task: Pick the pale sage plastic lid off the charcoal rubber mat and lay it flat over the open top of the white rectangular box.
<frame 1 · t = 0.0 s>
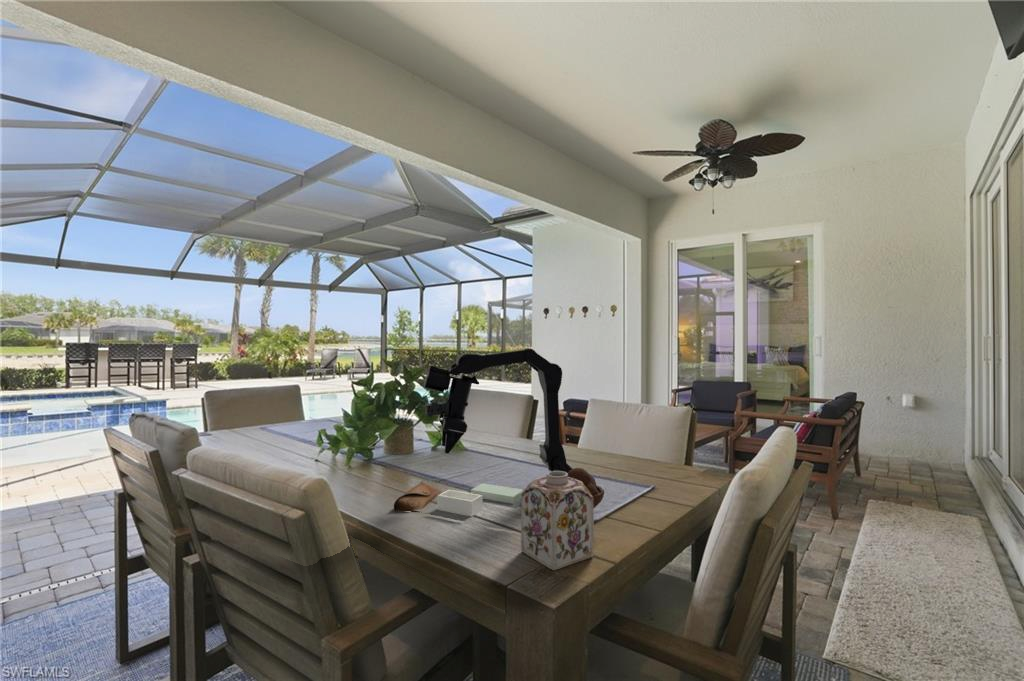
hand: (445, 449, 139), 15 cm above the table, tool pointing down, fingers open, 9 cm apart
white rectangular box: (459, 511, 133), on the table
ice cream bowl: (581, 527, 122), on the table
decorative jar: (556, 555, 107), on the table
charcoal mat: (497, 498, 144), on the table
sage lid: (497, 496, 144), point 1 cm above the table, touching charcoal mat
sunglasses case: (420, 503, 141), on the table
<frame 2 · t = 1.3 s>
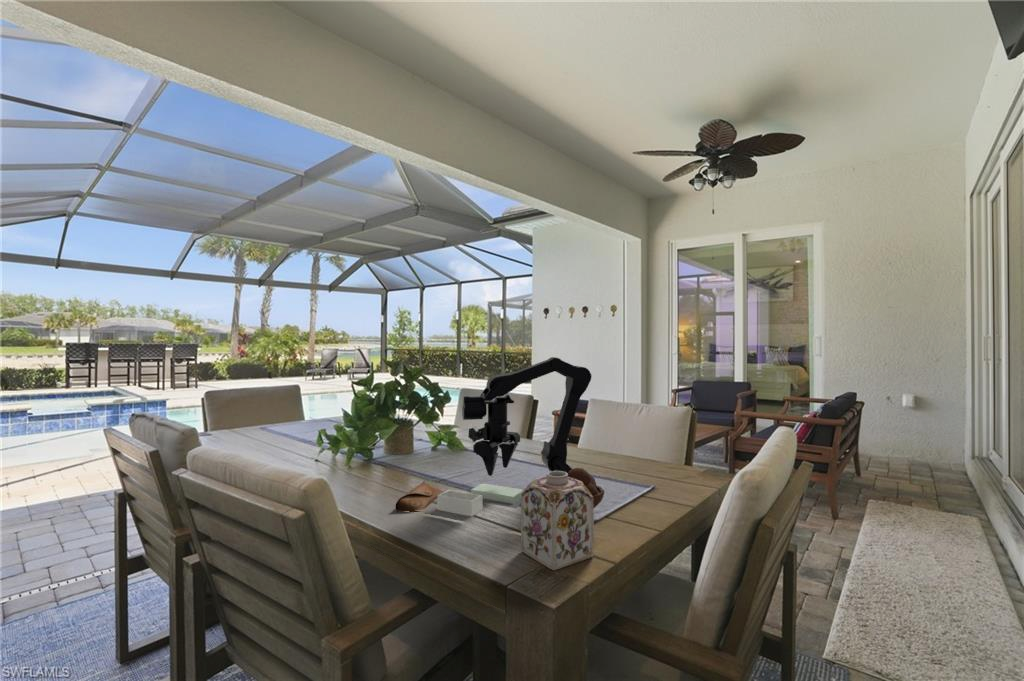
hand: (497, 471, 143), 8 cm above the table, tool pointing down, fingers open, 9 cm apart
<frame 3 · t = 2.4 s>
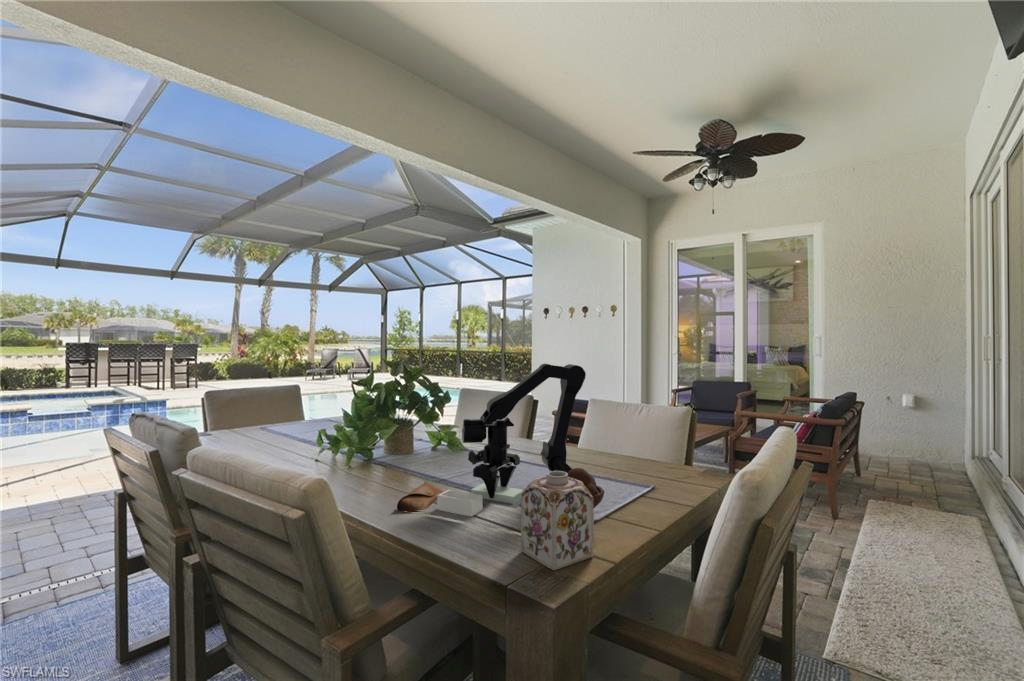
hand: (497, 494, 144), 1 cm above the table, tool pointing down, fingers closed on sage lid, 7 cm apart
sage lid: (497, 496, 144), point 1 cm above the table, touching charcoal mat, gripper
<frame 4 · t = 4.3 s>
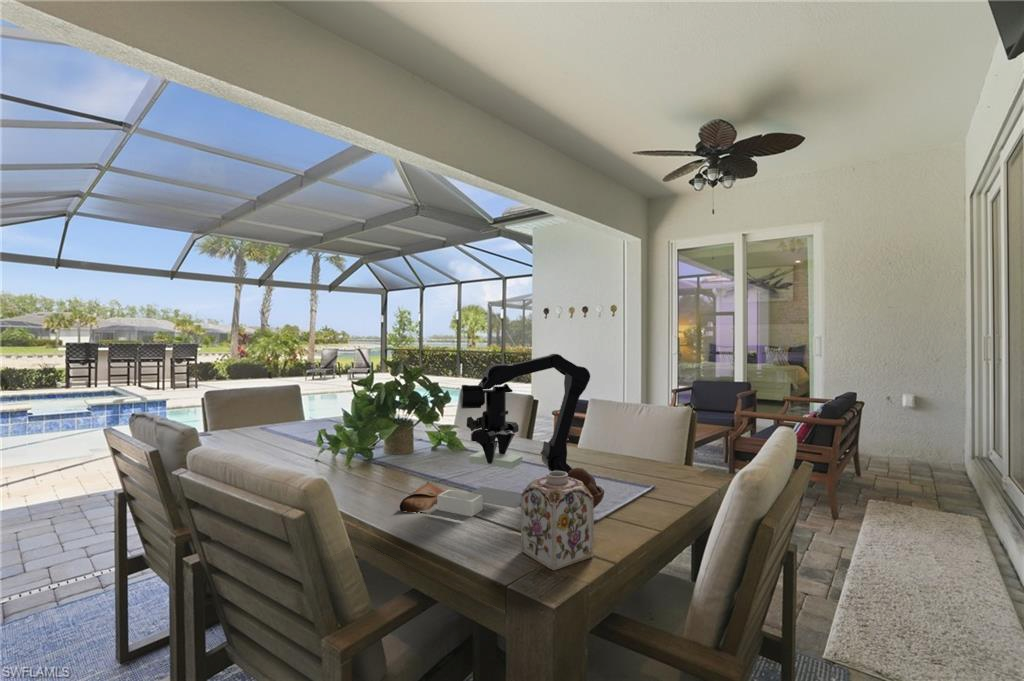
hand: (495, 460, 143), 11 cm above the table, tool pointing down, fingers closed on sage lid, 7 cm apart
sage lid: (495, 462, 143), point 11 cm above the table, touching gripper
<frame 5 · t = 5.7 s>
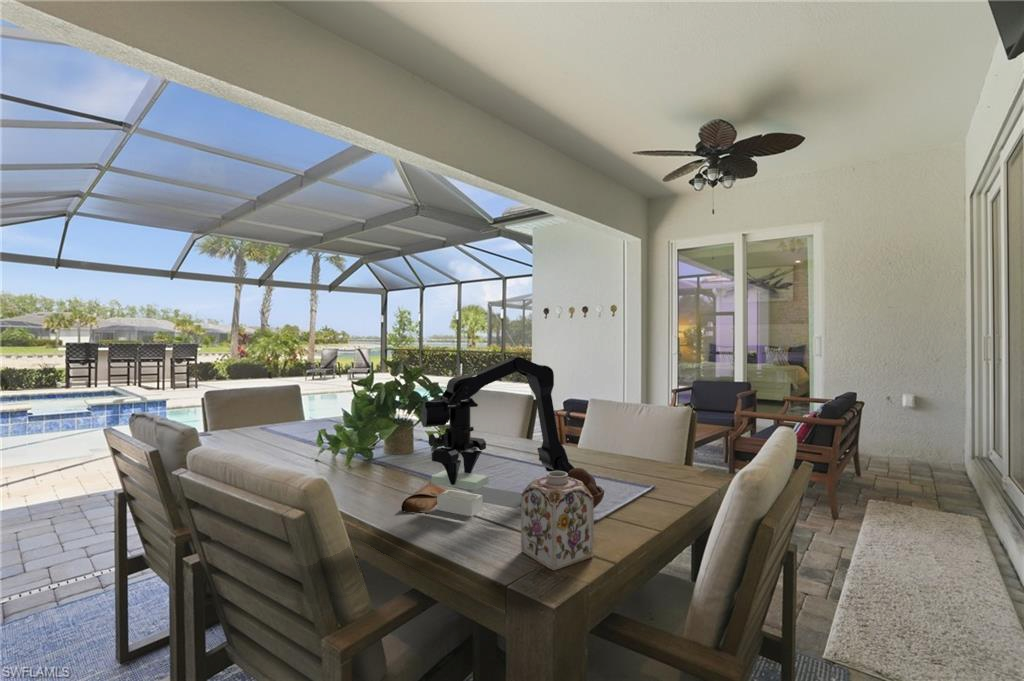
hand: (460, 481, 133), 8 cm above the table, tool pointing down, fingers closed on sage lid, 7 cm apart
sage lid: (460, 483, 133), point 8 cm above the table, touching gripper
when the fingers open (6 cm above the table, at t = 6.6 s): sage lid stays where it is, resting on white rectangular box.
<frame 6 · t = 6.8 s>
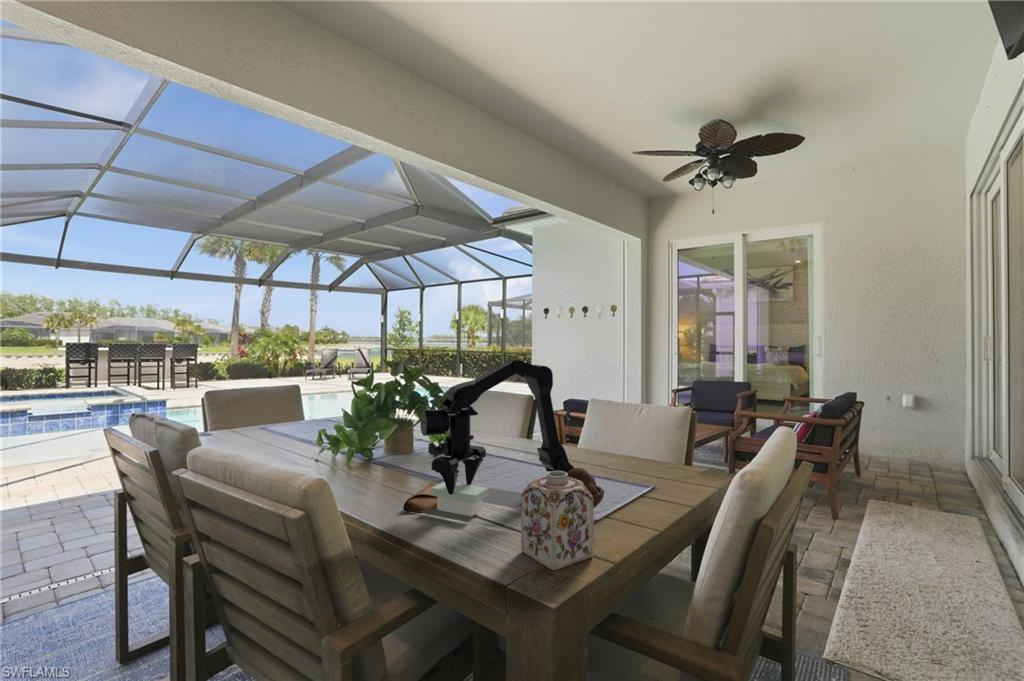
hand: (460, 489, 133), 6 cm above the table, tool pointing down, fingers open, 9 cm apart
sage lid: (459, 495, 133), point 4 cm above the table, touching white rectangular box
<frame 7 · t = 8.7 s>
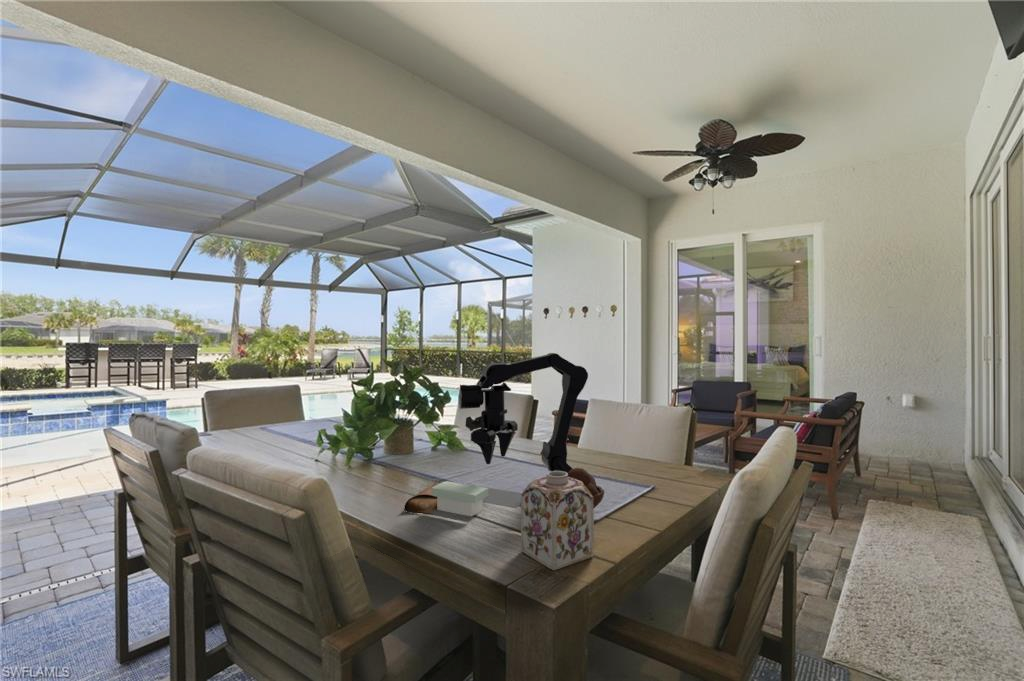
hand: (495, 460, 142), 12 cm above the table, tool pointing down, fingers open, 9 cm apart
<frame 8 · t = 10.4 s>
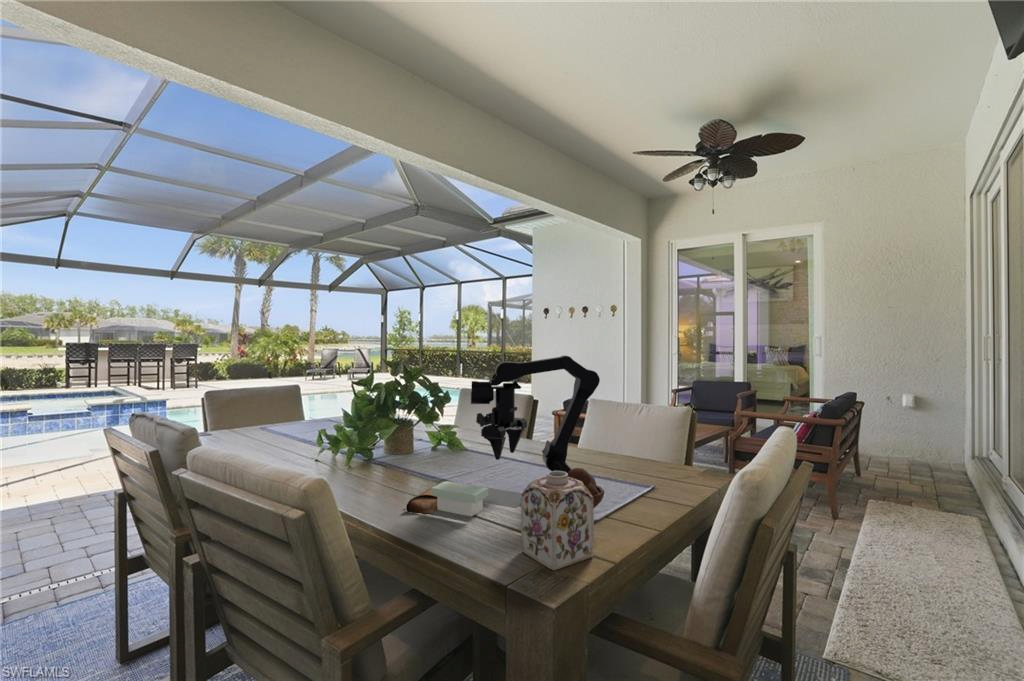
hand: (505, 456, 146), 12 cm above the table, tool pointing down, fingers open, 9 cm apart
at the end: sage lid 0.1 cm off-centre on the white rectangular box, point 4.5 cm above the white rectangular box's base; sage lid tilted 0°; the gripper is holding nothing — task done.
